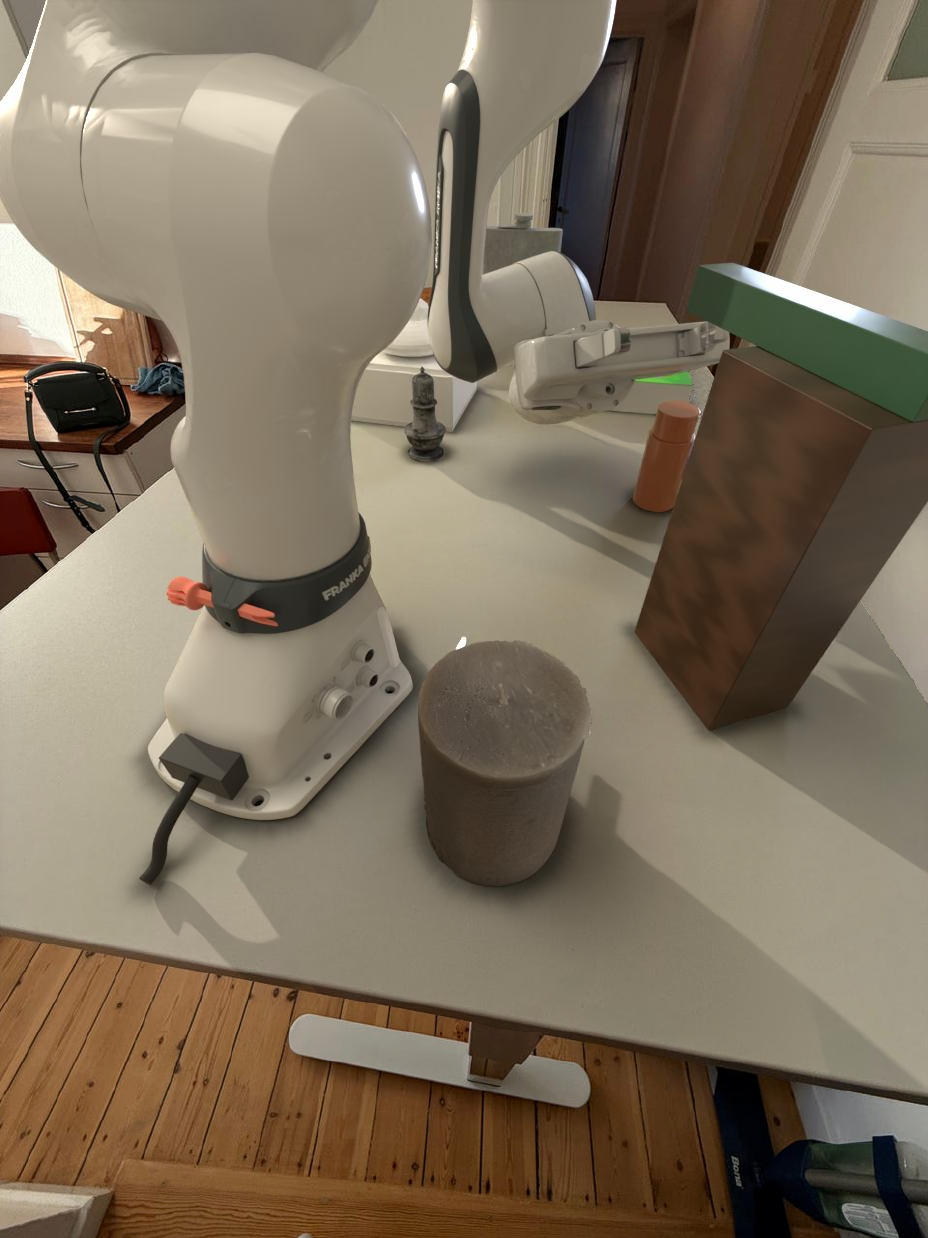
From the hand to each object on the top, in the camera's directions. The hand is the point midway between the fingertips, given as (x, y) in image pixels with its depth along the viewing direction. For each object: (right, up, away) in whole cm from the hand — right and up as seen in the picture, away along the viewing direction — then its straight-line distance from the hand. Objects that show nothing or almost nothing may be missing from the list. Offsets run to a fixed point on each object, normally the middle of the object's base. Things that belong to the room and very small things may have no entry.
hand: (673, 333), depth 46 cm
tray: (+8, +19, +54) cm, 58 cm away
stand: (+5, -28, +5) cm, 29 cm away
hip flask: (-6, +42, +77) cm, 88 cm away
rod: (+4, -7, -10) cm, 13 cm away
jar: (+7, -8, +25) cm, 28 cm away
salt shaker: (-23, 0, +34) cm, 41 cm away
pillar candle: (-15, -38, -5) cm, 41 cm away
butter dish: (-25, +12, +47) cm, 54 cm away
